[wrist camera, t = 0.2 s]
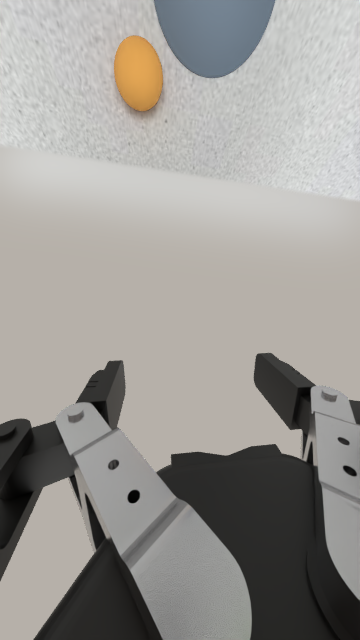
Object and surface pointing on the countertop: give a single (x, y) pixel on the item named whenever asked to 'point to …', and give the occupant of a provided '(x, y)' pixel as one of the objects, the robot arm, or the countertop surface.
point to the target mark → (213, 32)
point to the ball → (138, 73)
